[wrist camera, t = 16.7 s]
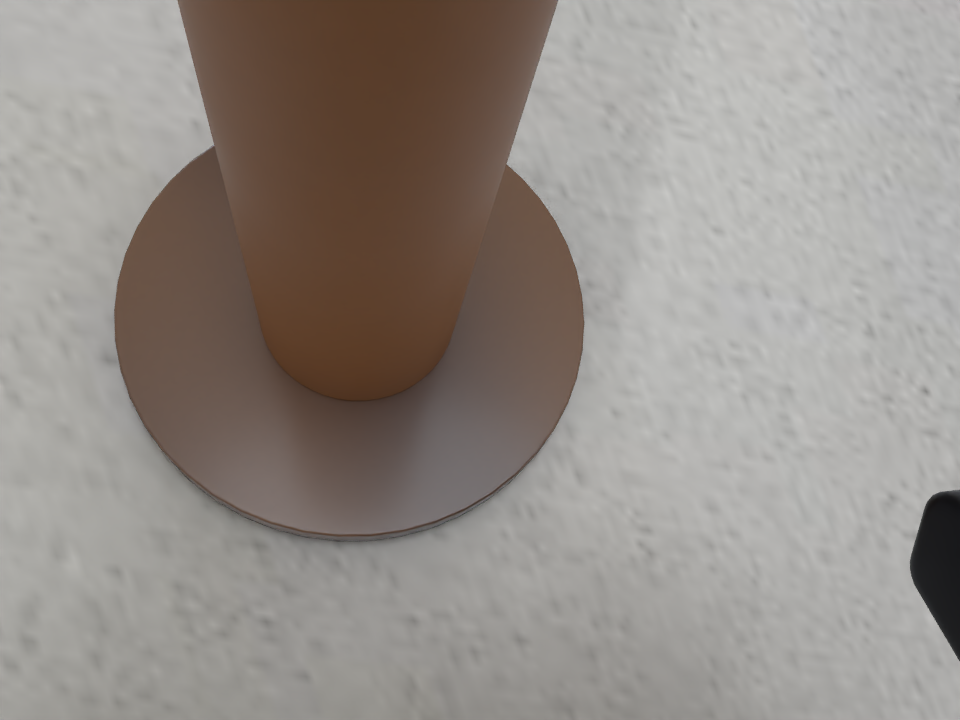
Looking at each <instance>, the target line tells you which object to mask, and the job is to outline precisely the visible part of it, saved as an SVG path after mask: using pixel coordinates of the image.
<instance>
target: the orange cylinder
mask: <svg viewBox="0 0 960 720" xmlns="http://www.w3.org/2000/svg"><path fill="white" fill-rule="evenodd" d="M557 2H558V0H178V4H179V8H180V12H181V16H182V20H183V24H184V28H185V32H186V36H187V40H188V43H189V47H190V51H191V55H192V59H193V63H194V67H195V71H196V75H197V79H198V83H199V87H200V91H201V95H202V98H203V102H204V106H205V110H206V114H207V118H208V122H209V126H210V130H211V134H212V138H213V142H214V146H215V149H216V153H217V157H218V161H219V165H220V169H221V173H222V177H223V181H224V185H225V189H226V193H227V197H228V201H229V204H230V208H231V212H232V216H233V220H234V224H235V228H236V232H237V236H238V240H239V244H240V248H241V252H242V255H243V259H244V263H245V267H246V271H247V275H248V279H249V283H250V287H251V291H252V295H253V299H254V303H255V306H256V310H257V314H258V318H259V322H260V326H261V330H262V334H263V337H264V339H265V342H266V344H267V347H268V348H269V350H270V352H271V354H272V355H273V357H274V358H275V360H276V361H277V362H278V364H279V365H280V366H281V367H282V368H283V369H284V370H285V371H286V372H287V373H288V374H289V375H290V376H291V377H292V378H294V379H295V380H296V381H298V382H299V383H300V384H302V385H304V386H305V387H307V388H309V389H311V390H313V391H315V392H317V393H320V394H322V395H325V396H329V397H333V398H336V399H343V400H350V401H366V400H374V399H380V398H384V397H388V396H391V395H394V394H397V393H399V392H402V391H404V390H406V389H407V388H409V387H411V386H413V385H415V384H416V383H417V382H419V381H420V380H421V379H423V378H424V377H425V376H426V375H427V374H428V373H429V372H430V371H431V370H432V369H433V368H434V367H435V366H436V365H437V363H438V362H439V361H440V359H441V358H442V356H443V354H444V353H445V351H446V349H447V347H448V344H449V342H450V340H451V337H452V334H453V330H454V327H455V324H456V321H457V318H458V315H459V312H460V308H461V305H462V302H463V299H464V296H465V293H466V289H467V286H468V283H469V280H470V277H471V274H472V271H473V267H474V264H475V261H476V258H477V255H478V252H479V248H480V245H481V242H482V239H483V236H484V233H485V230H486V226H487V223H488V220H489V217H490V214H491V211H492V207H493V204H494V201H495V198H496V195H497V192H498V189H499V185H500V182H501V179H502V176H503V173H504V170H505V166H506V163H507V160H508V157H509V154H510V151H511V148H512V144H513V141H514V138H515V135H516V132H517V129H518V125H519V122H520V119H521V116H522V113H523V110H524V107H525V103H526V100H527V97H528V94H529V91H530V88H531V84H532V81H533V78H534V75H535V72H536V69H537V66H538V62H539V59H540V56H541V53H542V50H543V47H544V43H545V40H546V37H547V34H548V31H549V28H550V25H551V21H552V18H553V15H554V12H555V9H556V6H557Z"/></svg>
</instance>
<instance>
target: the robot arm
mask: <svg viewBox="0 0 960 720" xmlns="http://www.w3.org/2000/svg"><path fill="white" fill-rule="evenodd" d="M910 571H911V576H912V579H913V582H914V584H915V586H916V588H917V590H918V592H919V593H920V595H921V597H922V598H923V600H924V602H925V603H926V605H927V607H928V608H929V610H930V612H931V614H932V615H933V617H934V619H935V620H936V622H937V624H938V625H939V627H940V629H941V630H942V632H943V634H944V636H945V637H946V639H947V641H948V642H949V644H950V646H951V647H952V649H953V651H954V652H955V654H956V656H957V657H958V659H959V661H960V490H953V491H945V492H939V493H937V494H935V495H933V496H932V497H931V498H930V499H929V500H928V502H927V504H926V506H925V509H924V512H923V516H922V519H921V523H920V526H919V530H918V533H917V537H916V540H915V544H914V547H913V551H912V554H911V559H910Z"/></svg>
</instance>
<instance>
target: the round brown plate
mask: <svg viewBox="0 0 960 720" xmlns="http://www.w3.org/2000/svg"><path fill="white" fill-rule="evenodd" d="M114 319H115V342H116V348H117V353H118V359H119V364H120V370H121V373H122V376H123V379H124V382H125V385H126V387H127V390H128V393H129V396H130V399H131V401H132V403H133V405H134V407H135V409H136V411H137V412H138V414H139V416H140V418H141V420H142V422H143V424H144V426H145V427H146V429H147V430H148V432H149V433H150V434H151V436H152V437H153V439H154V440H155V441H156V443H157V444H158V445H159V447H160V448H161V450H162V451H163V452H164V453H165V455H166V456H167V457H168V458H169V459H170V460H171V461H172V462H173V463H174V464H175V465H176V466H177V467H178V468H179V470H180V471H181V472H182V473H183V474H184V475H185V476H186V477H187V478H188V479H189V480H190V481H191V482H193V483H194V484H195V485H196V486H198V487H199V488H200V489H202V490H203V491H204V492H205V493H207V494H208V495H209V496H211V497H212V498H213V499H214V500H216V501H217V502H219V503H221V504H223V505H224V506H226V507H228V508H230V509H231V510H233V511H235V512H237V513H238V514H240V515H242V516H244V517H246V518H248V519H251V520H253V521H256V522H258V523H261V524H263V525H266V526H268V527H271V528H273V529H276V530H280V531H284V532H288V533H292V534H296V535H300V536H304V537H309V538H318V539H326V540H334V541H371V540H378V539H385V538H392V537H399V536H404V535H408V534H412V533H415V532H419V531H422V530H426V529H429V528H433V527H435V526H438V525H440V524H442V523H445V522H447V521H449V520H452V519H454V518H456V517H459V516H461V515H463V514H465V513H466V512H468V511H470V510H471V509H473V508H475V507H476V506H478V505H480V504H481V503H483V502H485V501H486V500H488V499H489V498H491V497H492V496H493V495H494V494H496V493H497V492H498V491H499V490H501V489H502V488H503V487H504V486H506V485H507V484H508V483H509V482H511V481H512V480H513V479H514V478H515V477H516V475H517V474H518V473H519V472H520V471H521V470H522V469H523V468H524V467H525V466H526V465H527V464H528V463H529V462H530V461H531V460H532V459H533V457H534V456H535V455H536V454H537V453H538V452H539V450H540V449H541V447H542V446H543V445H544V443H545V442H546V440H547V439H548V438H549V436H550V435H551V433H552V432H553V431H554V429H555V427H556V425H557V423H558V421H559V419H560V418H561V416H562V414H563V412H564V410H565V408H566V406H567V404H568V401H569V399H570V396H571V393H572V390H573V387H574V384H575V382H576V379H577V375H578V370H579V365H580V360H581V355H582V350H583V333H584V315H583V302H582V294H581V289H580V285H579V280H578V275H577V271H576V268H575V265H574V262H573V259H572V257H571V254H570V251H569V248H568V245H567V243H566V241H565V239H564V237H563V235H562V233H561V232H560V230H559V228H558V226H557V224H556V222H555V220H554V219H553V217H552V216H551V214H550V213H549V211H548V210H547V208H546V207H545V205H544V204H543V202H542V201H541V200H540V198H539V197H538V196H537V195H536V194H535V193H534V191H533V190H532V189H531V188H530V187H529V186H528V185H527V183H526V182H525V181H524V180H523V179H522V178H521V177H520V176H519V175H518V174H517V173H515V172H514V171H513V170H512V169H511V168H510V167H509V166H508V165H507V164H506V166H505V170H504V173H503V176H502V179H501V182H500V185H499V189H498V192H497V195H496V198H495V201H494V204H493V207H492V211H491V214H490V217H489V220H488V223H487V226H486V230H485V233H484V236H483V239H482V242H481V245H480V248H479V252H478V255H477V258H476V261H475V264H474V267H473V271H472V274H471V277H470V280H469V283H468V286H467V289H466V293H465V296H464V299H463V302H462V305H461V308H460V312H459V315H458V318H457V321H456V324H455V327H454V330H453V334H452V337H451V340H450V342H449V344H448V347H447V349H446V351H445V353H444V354H443V356H442V358H441V359H440V361H439V362H438V363H437V365H436V366H435V367H434V368H433V369H432V370H431V371H430V372H429V373H428V374H427V375H426V376H425V377H424V378H423V379H421V380H420V381H419V382H417V383H416V384H415V385H413V386H411V387H409V388H407V389H406V390H404V391H402V392H399V393H397V394H394V395H391V396H388V397H384V398H380V399H374V400H366V401H350V400H343V399H336V398H333V397H329V396H325V395H322V394H320V393H317V392H315V391H313V390H311V389H309V388H307V387H305V386H304V385H302V384H300V383H299V382H298V381H296V380H295V379H294V378H292V377H291V376H290V375H289V374H288V373H287V372H286V371H285V370H284V369H283V368H282V367H281V366H280V365H279V364H278V362H277V361H276V360H275V358H274V357H273V355H272V354H271V352H270V350H269V348H268V347H267V344H266V342H265V339H264V337H263V334H262V330H261V326H260V322H259V318H258V314H257V310H256V306H255V303H254V299H253V295H252V291H251V287H250V283H249V279H248V275H247V271H246V267H245V263H244V259H243V255H242V252H241V248H240V244H239V240H238V236H237V232H236V228H235V224H234V220H233V216H232V212H231V208H230V204H229V201H228V197H227V193H226V189H225V185H224V181H223V177H222V173H221V169H220V165H219V161H218V157H217V153H216V149H215V146H214V145H213V146H211V147H210V148H209V149H207V150H206V151H205V152H203V153H202V154H200V155H199V156H198V157H196V158H195V159H194V160H192V161H191V162H190V163H189V164H188V165H187V166H185V167H184V168H183V169H182V170H181V171H180V172H179V173H178V174H177V175H176V176H175V177H174V178H173V179H172V180H171V181H170V182H169V183H168V184H167V185H166V187H165V188H164V189H163V190H162V191H161V193H160V194H159V195H158V196H157V197H156V199H155V200H154V201H153V202H152V204H151V205H150V207H149V209H148V210H147V212H146V214H145V215H144V217H143V218H142V220H141V222H140V223H139V225H138V227H137V229H136V231H135V233H134V235H133V238H132V240H131V242H130V245H129V247H128V249H127V252H126V254H125V257H124V261H123V265H122V268H121V272H120V276H119V279H118V284H117V292H116V301H115V309H114Z"/></svg>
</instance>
